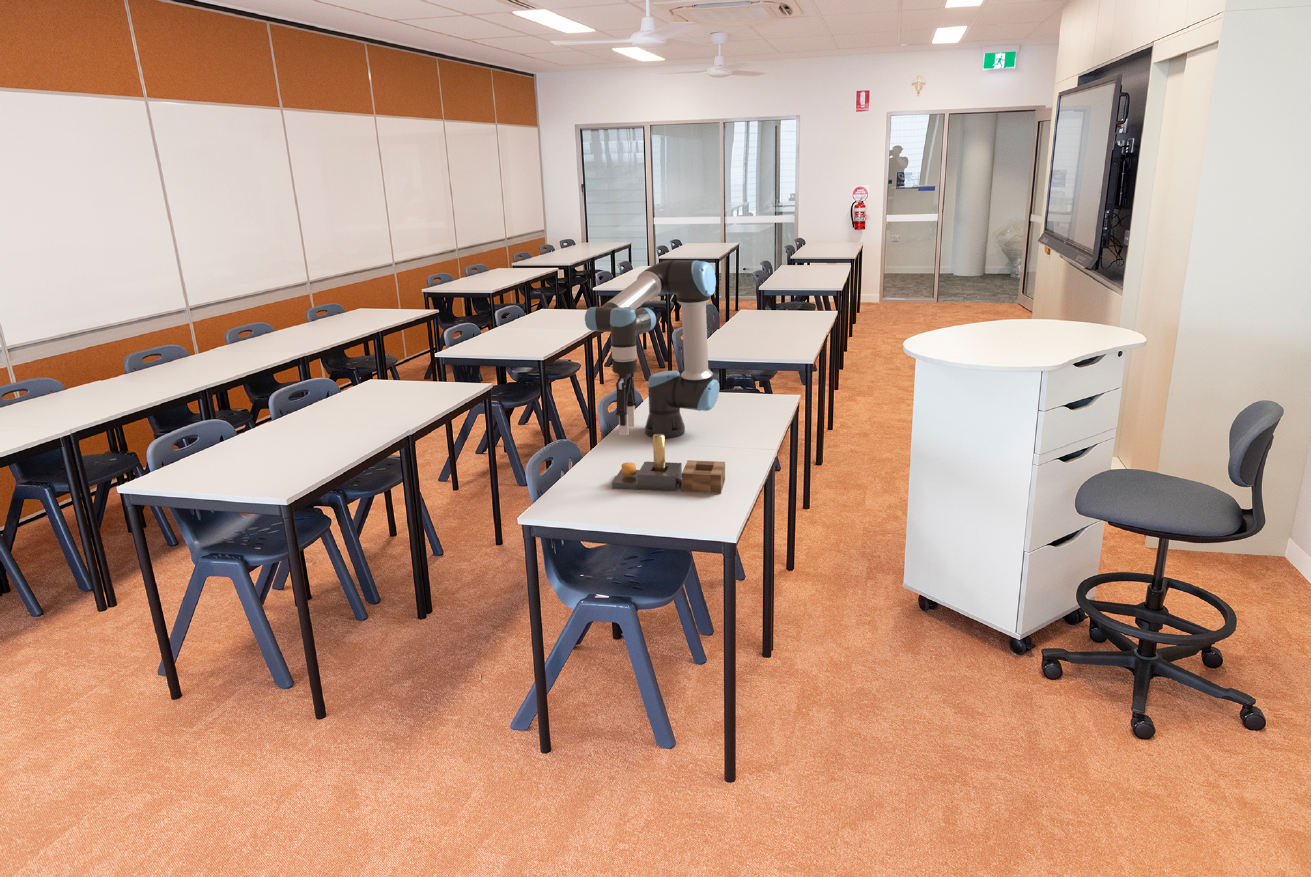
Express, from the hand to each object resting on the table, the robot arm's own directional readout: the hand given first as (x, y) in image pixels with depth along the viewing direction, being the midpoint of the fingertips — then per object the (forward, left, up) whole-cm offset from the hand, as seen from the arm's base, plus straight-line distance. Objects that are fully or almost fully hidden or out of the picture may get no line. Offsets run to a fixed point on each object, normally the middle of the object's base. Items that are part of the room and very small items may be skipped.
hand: (627, 430), depth 248 cm
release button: (0, 0, -14) cm, 14 cm away
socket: (0, +6, -17) cm, 18 cm away
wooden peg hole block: (0, +24, -17) cm, 30 cm away
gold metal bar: (0, +10, -17) cm, 20 cm away
